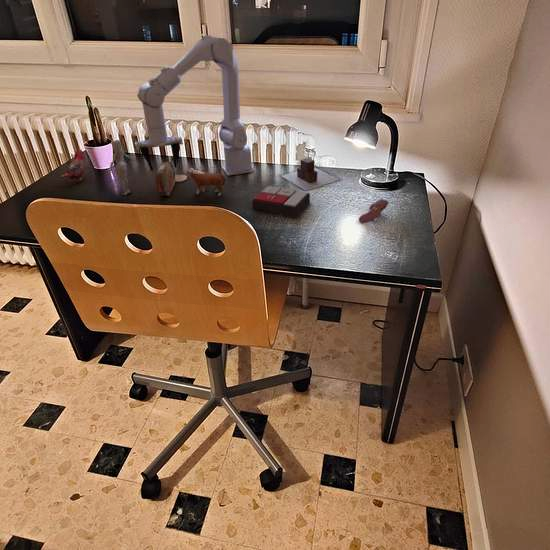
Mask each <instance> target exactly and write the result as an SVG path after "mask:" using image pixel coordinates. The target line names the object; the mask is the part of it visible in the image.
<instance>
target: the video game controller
mask: <svg viewBox="0 0 550 550" xmlns="http://www.w3.org/2000/svg"><path fill="white" fill-rule="evenodd" d="M388 205H389V201H388V200H386V199H384V198H381V199H379V200H377V201H376V202H374V203H372V204H371V205H370V206H369V211H368V212H366V213H363V214H362V215H360V216H359V218H358V222H359V223H361V224H367V223H370V222H374V221H375V220H376V219H380V218H381V215H382V212H383V211H384V210H385V209H386V208H387V207H388Z"/></svg>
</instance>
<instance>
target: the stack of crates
mask: <svg viewBox="0 0 550 550" xmlns="http://www.w3.org/2000/svg"><path fill="white" fill-rule="evenodd" d="M315 164H316V161H315V160H314V159H312V158H310V157H306V158H301V159H300V166H298V167H297V168H296V170H295V171H292V172H288V173H285V174H282V175H280V177H282V178H283V179H285V180H287V181H288V182H290V183H292V184H294V185H295V186H297V187H299V188H301V189H302V190H304V191H309V190H312V189H315V188H318V187H321V186H325V185H328V184H330V183H333V182H337V181H340V179H339V178H338V177H335V176H333V175H332V174H330V173H327V172H325V171H323V170H321V169H319V168H317V167H315Z"/></svg>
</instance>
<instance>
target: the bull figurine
mask: <svg viewBox="0 0 550 550" xmlns="http://www.w3.org/2000/svg"><path fill="white" fill-rule="evenodd" d="M186 176H187V177H190V178H191V179H192V181H193V183H194V184H195V185H196V193H195V195H199V194H200V191H201V192H202V193H204V192H205V191H206V189H205V187H209V188H210V189H212V188H213V186H215V187H216V189H215V190H214V191H213V192H214V193H218V194H217V197H221V195H222V191H223V188H224V183H225V181H226V179H225V176H224V175H223V174H222V173H214V172H212V173H210V172H204V171H199V168H193V167H190V168H189V169H188V170H187V171H186ZM201 188H202V190H201Z"/></svg>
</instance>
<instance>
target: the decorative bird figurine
mask: <svg viewBox="0 0 550 550" xmlns="http://www.w3.org/2000/svg"><path fill="white" fill-rule="evenodd" d="M85 168H86V163H85V154H84V152H83V150H82V149H81V148H78V149H76V151H75V152H74V157H73V159H72V161H71V163H70V165H69V167H68V169H67V171H66V173H64V174H62V175H60V176H59V178H60V179H61V178H69V179H70V180H74V179H75V180H77V182H76V184H78V183H80V182H82V181H83V179H84V178H85V176H83V175H84V173H85Z"/></svg>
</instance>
